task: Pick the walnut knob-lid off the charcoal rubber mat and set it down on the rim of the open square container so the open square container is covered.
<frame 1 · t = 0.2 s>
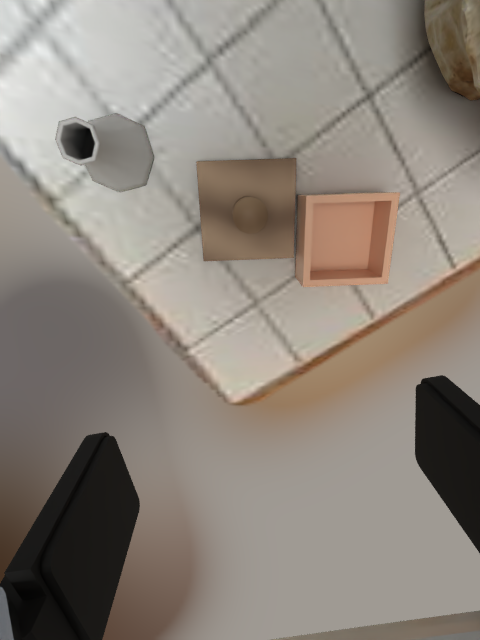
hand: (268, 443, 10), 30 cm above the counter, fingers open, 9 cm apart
open square container: (335, 236, 38), on the counter
lid: (247, 211, 36), resting on mat
flask: (119, 154, 34), on the counter
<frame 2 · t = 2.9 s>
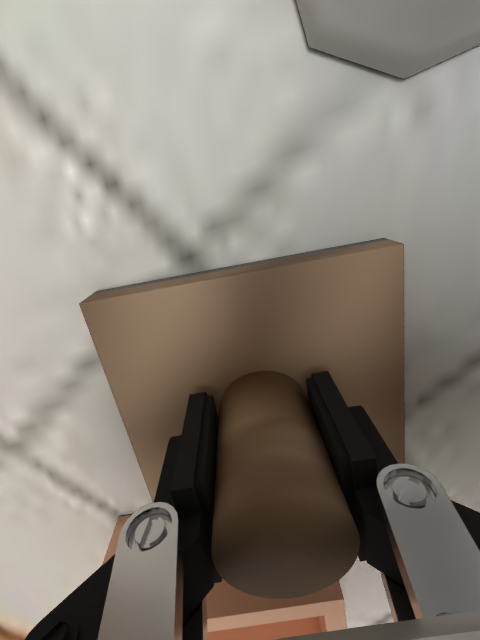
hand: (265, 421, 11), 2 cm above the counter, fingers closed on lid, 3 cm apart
mat: (260, 388, 13), on the counter
open square container: (232, 565, 17), on the counter
lid: (261, 394, 13), resting on mat, touching gripper
when the fingers open (7 cm above the counter, at t = 6.4 s): lid drops 1 cm, resting on open square container.
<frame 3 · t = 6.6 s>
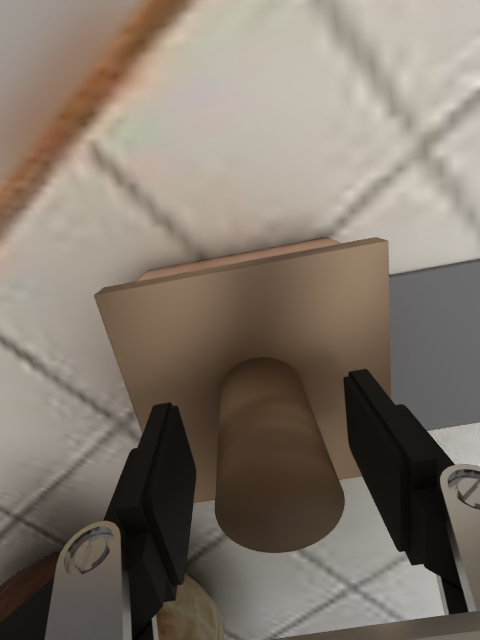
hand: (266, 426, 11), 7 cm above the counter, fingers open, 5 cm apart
mat: (435, 353, 19), on the counter
open square container: (251, 336, 18), on the counter
lid: (259, 380, 14), point 4 cm above the counter, touching open square container
ceramic vessel: (108, 583, 25), on the counter
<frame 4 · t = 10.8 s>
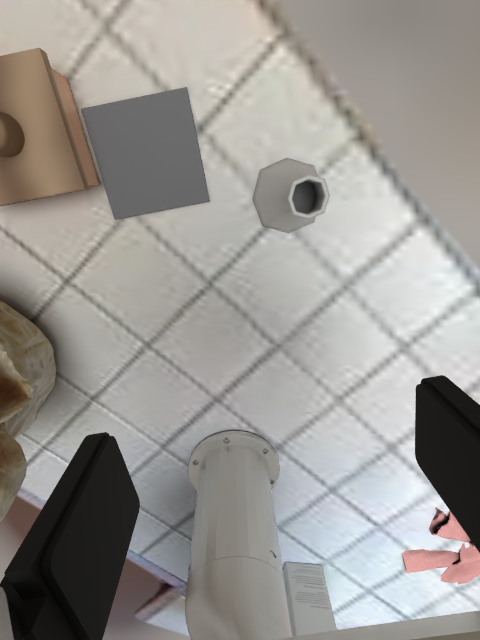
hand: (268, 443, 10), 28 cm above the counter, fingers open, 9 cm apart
cloth: (442, 536, 55), on the counter
mat: (149, 157, 33), on the counter
open square container: (39, 143, 32), on the counter
lid: (11, 137, 28), point 4 cm above the counter, touching open square container
skincare box: (297, 576, 56), on the counter
flask: (287, 196, 35), on the counter
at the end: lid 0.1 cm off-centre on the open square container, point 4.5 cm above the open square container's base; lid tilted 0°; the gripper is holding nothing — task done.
